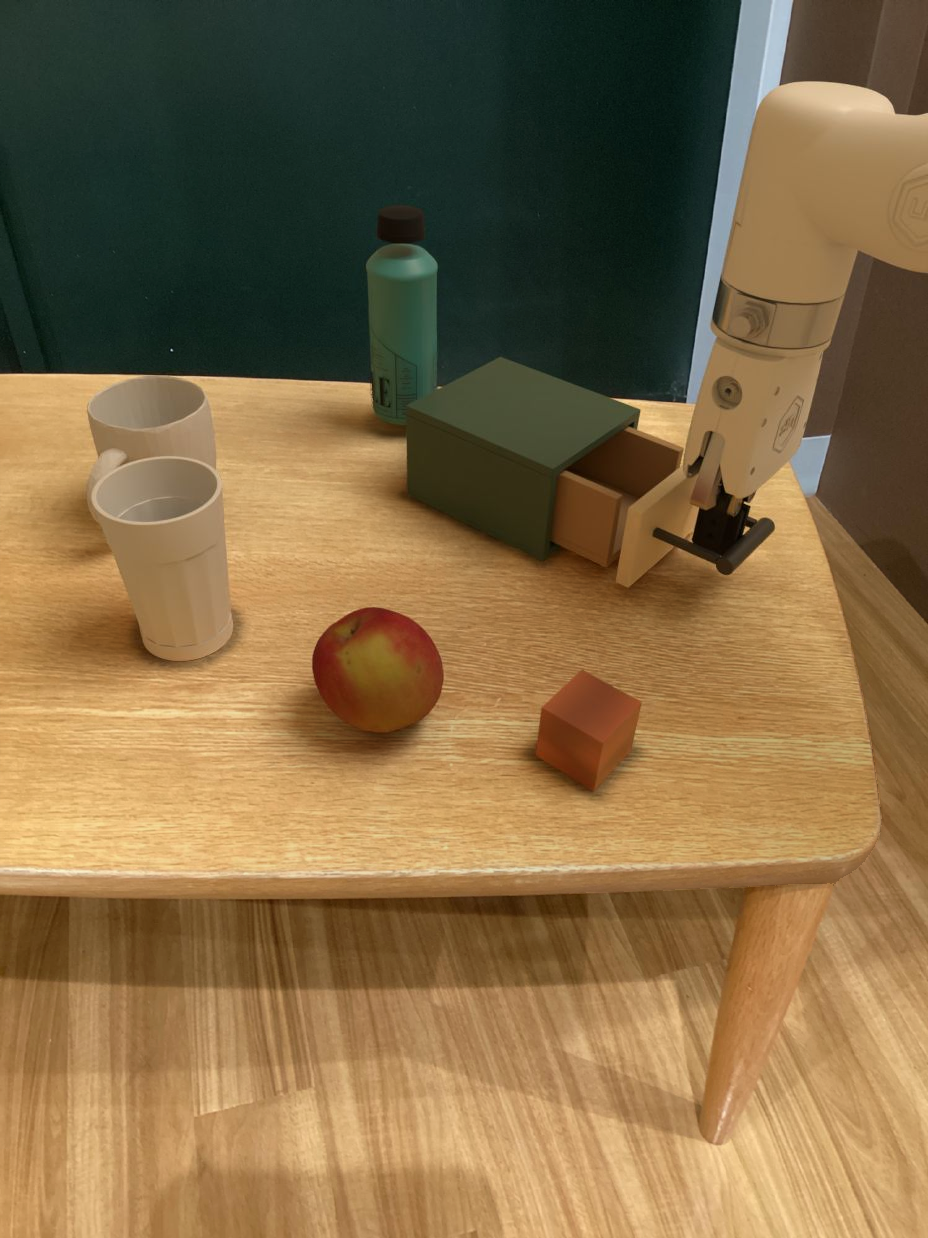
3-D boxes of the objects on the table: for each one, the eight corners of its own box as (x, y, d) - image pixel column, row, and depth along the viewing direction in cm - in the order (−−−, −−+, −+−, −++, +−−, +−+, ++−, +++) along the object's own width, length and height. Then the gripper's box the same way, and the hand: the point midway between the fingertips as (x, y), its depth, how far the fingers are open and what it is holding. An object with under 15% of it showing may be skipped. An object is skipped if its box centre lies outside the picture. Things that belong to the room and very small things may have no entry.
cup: (263, 607, 68) (243, 467, 60) (212, 679, 62) (183, 534, 55) (166, 587, 70) (134, 447, 62) (108, 655, 64) (64, 510, 56)
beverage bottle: (450, 419, 91) (455, 206, 78) (412, 447, 87) (411, 227, 74) (396, 401, 94) (392, 192, 81) (356, 427, 89) (346, 211, 76)
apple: (388, 657, 65) (385, 566, 59) (464, 722, 60) (468, 629, 55) (296, 707, 61) (285, 614, 56) (371, 781, 56) (366, 687, 51)
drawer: (774, 556, 74) (797, 483, 69) (707, 626, 67) (727, 550, 62) (566, 467, 83) (574, 398, 79) (488, 520, 76) (492, 448, 72)
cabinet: (625, 497, 81) (641, 409, 76) (542, 562, 74) (552, 468, 68) (495, 441, 88) (500, 356, 82) (406, 495, 80) (405, 405, 75)
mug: (156, 472, 82) (133, 366, 75) (244, 493, 80) (229, 386, 73) (61, 550, 73) (26, 438, 66) (159, 577, 71) (132, 463, 64)
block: (631, 750, 59) (642, 702, 56) (593, 792, 56) (603, 743, 53) (574, 717, 61) (582, 669, 58) (535, 756, 58) (541, 707, 55)
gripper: (780, 366, 52) (712, 615, 64) (876, 293, 61) (801, 523, 73) (663, 328, 55) (620, 571, 67) (771, 264, 64) (716, 489, 76)
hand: (714, 546), depth 70 cm, fingers closed
